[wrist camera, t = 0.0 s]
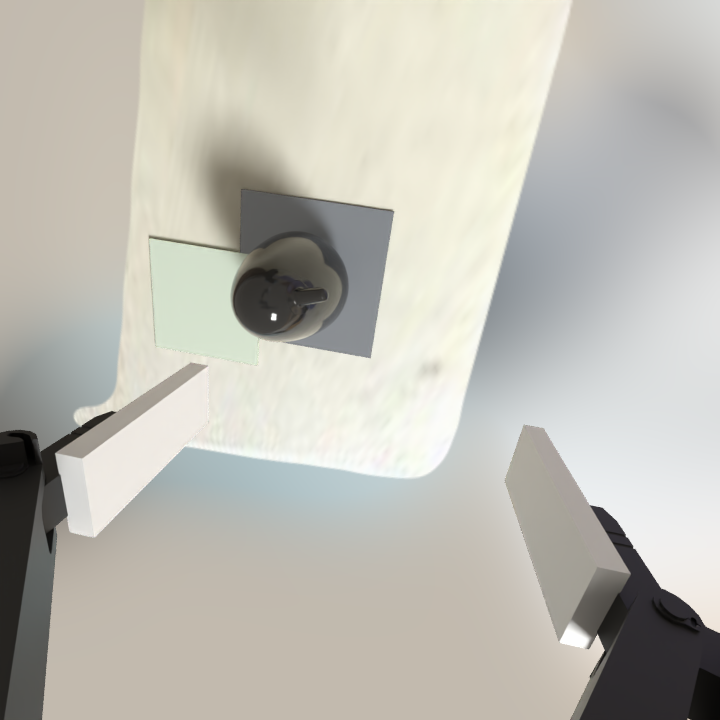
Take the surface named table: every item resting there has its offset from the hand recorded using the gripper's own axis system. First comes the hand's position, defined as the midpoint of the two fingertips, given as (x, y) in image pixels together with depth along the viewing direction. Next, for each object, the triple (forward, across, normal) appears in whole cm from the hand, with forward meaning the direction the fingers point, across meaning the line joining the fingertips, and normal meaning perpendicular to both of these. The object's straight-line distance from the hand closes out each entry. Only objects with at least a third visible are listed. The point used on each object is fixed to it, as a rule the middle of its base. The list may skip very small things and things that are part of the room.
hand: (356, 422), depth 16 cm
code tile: (+28, -9, 0) cm, 30 cm away
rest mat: (+28, -21, -5) cm, 36 cm away
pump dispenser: (+28, -9, 0) cm, 29 cm away
